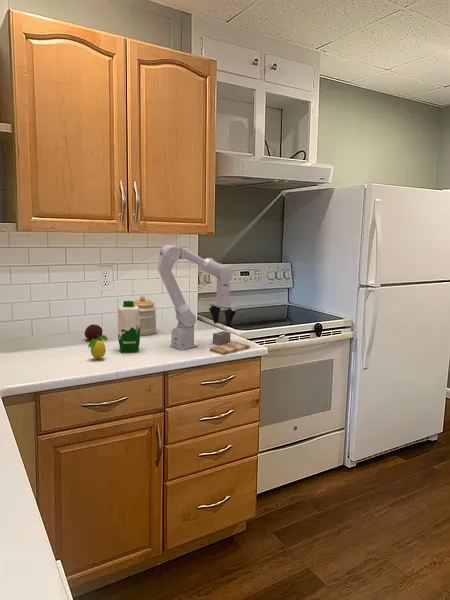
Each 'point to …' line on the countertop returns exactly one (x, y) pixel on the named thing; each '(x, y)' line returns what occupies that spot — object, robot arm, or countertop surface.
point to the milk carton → (128, 327)
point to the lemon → (98, 347)
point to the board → (229, 348)
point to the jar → (146, 316)
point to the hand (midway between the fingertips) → (222, 324)
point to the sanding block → (221, 338)
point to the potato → (93, 332)
